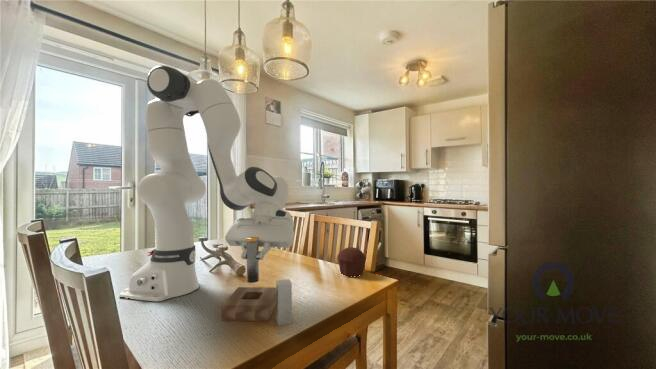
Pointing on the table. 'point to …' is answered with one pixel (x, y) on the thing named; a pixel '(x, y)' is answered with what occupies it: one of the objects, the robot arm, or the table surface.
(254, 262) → the round bit
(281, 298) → the square bit
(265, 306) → the socket block
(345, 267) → the muffin
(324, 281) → the table surface
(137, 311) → the table surface
